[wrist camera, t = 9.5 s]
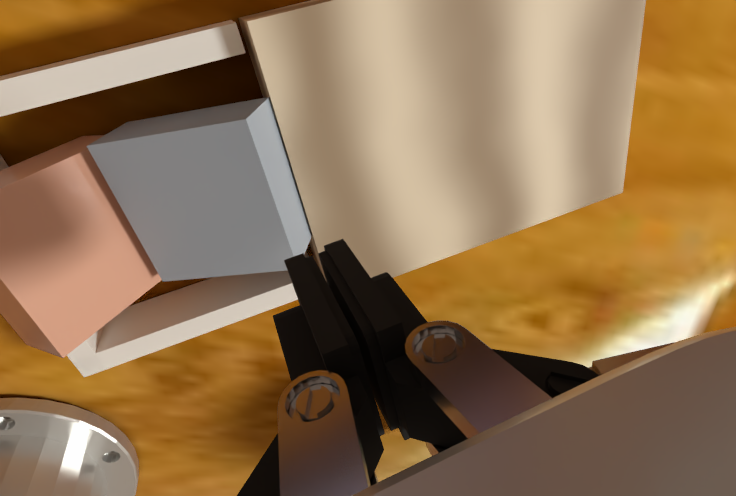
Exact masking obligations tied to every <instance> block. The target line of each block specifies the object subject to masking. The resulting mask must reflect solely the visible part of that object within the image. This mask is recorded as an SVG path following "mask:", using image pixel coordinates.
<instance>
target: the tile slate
mask: <svg viewBox="0 0 736 496" xmlns="http://www.w3.org/2000/svg"><path fill="white" fill-rule="evenodd" d="M87 148H88V150H89V151H90V153H91V155H92V157H93V158H94V160H95V162H96V164H97V166H98V167H99V169H100V171H101V173H102V174H103V176H104V178H105V180H106V182H107V183H108V185H109V187H110V189H111V190H112V192H113V194H114V196H115V198H116V199H117V201H118V203H119V205H120V206H121V208H122V210H123V212H124V214H125V215H126V217H127V219H128V221H129V222H130V224H131V226H132V228H133V230H134V231H135V233H136V235H137V237H138V238H139V240H140V242H141V244H142V246H143V247H144V249H145V251H146V253H147V254H148V256H149V258H150V260H151V262H152V263H153V265H154V267H155V269H156V270H157V272H158V274H159V276H160V278H161V279H162V281H163V282H165V281H176V280H187V279H198V278H209V277H220V276H231V275H242V274H253V273H264V272H275V271H286V270H287V268H286V265H285V262H284V260H286V259H288V258H291V257H294V256H297V255H299V254H302V253H303V254H305V252H306V249H307V247H308V244H309V242H310V239H311V237H312V233H311V229H310V226H309V223H308V220H307V216H306V213H305V210H304V207H303V203H302V200H301V197H300V194H299V191H298V187H297V184H296V181H295V178H294V174H293V171H292V168H291V165H290V162H289V158H288V155H287V152H286V149H285V145H284V142H283V139H282V136H281V133H280V129H279V126H278V123H277V120H276V117H275V113H274V110H273V107H272V104H271V100H270V97H266V98H260V99H254V100H249V101H243V102H237V103H232V104H226V105H221V106H215V107H209V108H204V109H198V110H192V111H187V112H181V113H176V114H170V115H164V116H159V117H153V118H147V119H142V120H136V121H130V122H126V123H125V124H123V125H121V126H120V127H118V128H116V129H114V130H113V131H111V132H109V133H108V134H106V135H104V136H103V137H101V138H99V139H98V140H96V141H94V142H93V143H91V144H89V145H87Z"/></svg>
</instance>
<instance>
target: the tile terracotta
mask: <svg viewBox="0 0 736 496" xmlns="http://www.w3.org/2000/svg"><path fill="white" fill-rule="evenodd" d="M103 136H104V135H92V136H81V137H79V138H76V139H74V140H72V141H69V142H67V143H65V144H62V145H60V146H58V147H55V148H53V149H50V150H48V151H46V152H43V153H41V154H39V155H36V156H34V157H31V158H29V159H27V160H24V161H22V162H20V163H17V164H15V165H12V166H10V167H8V168H5V169H3V170H1V171H0V313H1V315H2V316H3V317H4V318H5V319H6V321H7V322H8V323H9V324H10V325H11V327H12V328H13V329H14V330H15V331H16V333H17V334H18V335H19V336H20V337H21V339H22V340H23V341H24V342H25V343H26V345H29V346H32V347H34V348H37V349H40V350H43V351H45V352H48V353H51V354H53V355H56V356H59V357H62V358H64V357H65V356H66V355H68V354H69V353H70V352H71V351H73V350H74V349H75V348H76V347H78V346H79V345H80V344H82V343H83V342H84V341H85V340H87V339H88V338H89V337H90V336H92V335H93V334H94V333H95V332H97V331H98V330H99V329H100V328H102V327H103V326H104V325H105V324H107V323H108V322H109V321H111V320H112V319H113V318H114V317H116V316H117V315H118V314H119V313H121V312H122V311H123V310H124V309H126V308H127V307H128V306H129V305H131V304H132V303H133V302H134V301H136V300H137V299H138V298H140V297H141V296H142V295H143V294H145V293H146V292H147V291H148V290H150V289H151V288H152V287H153V286H155V285H156V284H157V283H158V282H160V281H161V280H162V279H161V278H160V276H159V274H158V272H157V270H156V269H155V267H154V265H153V263H152V262H151V260H150V258H149V256H148V254H147V253H146V251H145V249H144V247H143V246H142V244H141V242H140V240H139V238H138V237H137V235H136V233H135V231H134V230H133V228H132V226H131V224H130V222H129V221H128V219H127V217H126V215H125V214H124V212H123V210H122V208H121V206H120V205H119V203H118V201H117V199H116V198H115V196H114V194H113V192H112V190H111V189H110V187H109V185H108V183H107V182H106V180H105V178H104V176H103V174H102V173H101V171H100V169H99V167H98V166H97V164H96V162H95V160H94V158H93V157H92V155H91V153H90V151H89V150H88V148H87V145H89V144H91V143H93V142H94V141H96V140H98V139H99V138H101V137H103Z"/></svg>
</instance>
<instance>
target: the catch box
mask: <svg viewBox="0 0 736 496" xmlns="http://www.w3.org/2000/svg"><path fill="white" fill-rule="evenodd" d="M244 53H245V49H244V46H243V43H242V40H241V37H240V34H239V31H238V28H237V24H236V22H234V21H232V20H228V21H224V22H220V23H216V24H212V25H208V26H203V27H199V28H195V29H191V30H187V31H183V32H179V33H175V34H171V35H167V36H163V37H159V38H154V39H150V40H146V41H142V42H138V43H134V44H130V45H126V46H122V47H118V48H114V49H109V50H105V51H101V52H97V53H93V54H89V55H85V56H81V57H77V58H73V59H69V60H65V61H60V62H56V63H52V64H48V65H44V66H40V67H36V68H32V69H28V70H24V71H20V72H16V73H11V74H7V75H3V76H0V117H1V116H5V115H9V114H13V113H16V112H20V111H24V110H28V109H32V108H36V107H40V106H43V105H47V104H51V103H55V102H59V101H63V100H67V99H70V98H74V97H78V96H82V95H86V94H90V93H94V92H97V91H101V90H105V89H109V88H113V87H117V86H121V85H124V84H128V83H132V82H136V81H140V80H144V79H148V78H151V77H155V76H159V75H163V74H167V73H171V72H175V71H178V70H182V69H186V68H190V67H194V66H198V65H201V64H205V63H209V62H213V61H217V60H221V59H225V58H228V57H232V56H236V55H240V54H244ZM5 168H8V165H7V164H6V162H5V161H4V159H3V158H2V156H1V155H0V171H1V170H3V169H5ZM304 256H305V258H307V257H309V256H308V254H307V251H306V252H305V254H304ZM295 300H298V298H297V295H296V292H295V290H294V287H293V284H292V281H291V279H290V276H289V273H288V270H286V271H275V272H264V273H253V274H242V275H231V276H220V277H213V278H210V279H207V280H204V281H201V282H198V283H195V284H192V285H189V286H186V287H184V288H181V289H178V290H175V291H172V292H169V293H166V294H163V295H160V296H157V297H154V298H152V299H149V300H146V301H143V302H140V303H137V304H134V305H131V306H128V307H127V308H126V309H124V310H123V311H122V312H121V313H119V314H118V315H117V316H116V317H114V318H113V319H112V320H111V321H109V322H108V323H107V324H105V325H104V326H103V327H102V328H100V329H99V330H98V331H97V332H95V333H94V334H93V335H92V336H90V337H89V338H88V339H87V340H85V341H84V342H83V343H82V344H80V345H79V346H78V347H76V348H75V349H74V350H73V351H71V352H70V353H69V354H68V355H67V356H68V357H69V359H70V360H71V361H72V363H73V364H74V365H75V366H76V368H77V369H78V370H79V371H80V373H81V374H82V375H83V377H87V376H89V375H92V374H95V373H98V372H100V371H103V370H106V369H109V368H111V367H114V366H117V365H120V364H122V363H125V362H128V361H131V360H133V359H136V358H139V357H141V356H144V355H147V354H150V353H152V352H155V351H158V350H161V349H163V348H166V347H169V346H172V345H174V344H177V343H180V342H183V341H185V340H188V339H191V338H194V337H196V336H199V335H202V334H204V333H207V332H210V331H213V330H215V329H218V328H221V327H224V326H226V325H229V324H232V323H235V322H237V321H240V320H243V319H246V318H248V317H251V316H254V315H257V314H259V313H262V312H265V311H267V310H270V309H273V308H276V307H278V306H281V305H284V304H287V303H289V302H292V301H295Z"/></svg>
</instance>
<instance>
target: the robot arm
mask: <svg viewBox="0 0 736 496" xmlns="http://www.w3.org/2000/svg"><path fill="white" fill-rule="evenodd" d="M324 250H325V251H323V252H320V253H318V255H319V258H320V262H321V265H322V268H323V271H324V274H325V278H326V280H325V278H324V276H323V274H322V272H321V270H320V268H319V266H318V265H317V263H316V261H315V259H314V257H313V255H312V256H309V257H307V258H305V256H304V254H303V253H302V254H299V255H297V256H294V257H291V258H288V259H286V260H284V262H285V265H286V268H287V270H288V273H289V276H290V279H291V281H292V284H293V287H294V290H295V292H296V295H297V298H298V301H299V303H300V305H299V306H297V307H294V308H292V309H289V310H286V311H284V312H281V313H279V314H276V315H273V318H274V322H275V326H276V329H277V333H278V336H279V340H280V343H281V346H282V350H283V353H284V357H285V360H286V364H287V367H288V371H289V374H290V378H291V381H292V382H290V384H289V385H288V386H287V387H286V388H285V389H284V390H283V392H282V394H281V396H280V398H279V401H278V408H277V413H278V434H277V435H276V437H275V438H274V440H273V441H272V443H271V445H270V446H269V448H268V449H267V451H266V452H265V454H264V455H263V457H262V458H261V460H260V461H259V463H258V464H257V466H256V467H255V469H254V470H253V472H252V473H251V475H250V477H249V478H248V480H247V481H246V483H245V484H244V486H243V487H242V489H241V490H240V492H239V493H238V495H237V496H736V327H732V328H727V329H722V330H717V331H713V332H708V333H704V334H700V335H697V336H694V337H691V338H688V339H685V340H682V341H678V342H675V343H670V344H666V345H661V346H657V347H652V348H648V349H644V350H639V351H635V352H631V353H626V354H622V355H618V356H613V357H609V358H604V359H600V360H596V361H593V362H592V367H589V368H587V367H585V366H583V365H580V364H577V363H573V362H568V361H562V360H556V359H550V358H544V357H538V356H532V355H525V354H519V353H513V352H507V351H501V350H495V349H491V348H489V347H488V346H487V345H486V344H484V343H483V342H482V341H481V340H479V339H478V338H477V337H476V336H474V335H473V334H472V333H471V332H469V331H468V330H467V329H466V328H464V327H462V326H461V325H459V324H457V323H454V322H450V321H433V322H427V321H426V320H425V319H424V317H423V316H422V315H421V314H420V312H419V311H418V310H417V308H416V307H415V306H414V305H413V303H412V302H411V301H410V300H409V298H408V297H407V296H406V295H405V293H404V292H403V291H402V289H401V288H400V287H399V286H398V284H397V283H396V282H395V281H394V279H393V278H392V277H391V276H390V274H389V273H387V272H385V273H382V274H380V275H377V276H374V277H372V278H371V277H370V276H369V275H368V273H367V272H366V270H365V269H364V268H363V266H362V265H361V263H360V262H359V260H358V259H357V258H356V256H355V255H354V253H353V252H352V251H351V249H350V248H349V246H348V245H347V243H346V242H345V241H344V239H341V240H338V241H335V242H332V243H330V244H327V245H324ZM326 281H327V282H326ZM375 400H376V402H377V404H378V406H379V408H380V410H381V412H382V414H383V416H384V418H385V420H386V422H387V424H388V426H389V428H390V430H391V431H392V430H394V429H396V428H399V430H400V432H401V434H402V436H403V438H404V440H407V439H409V438H413V439H417V440H421V441H424V442H425V443H426V446H427V448H428V450H429V452H430V454H431V455H432V457H430V458H428V459H426V460H424V461H421V462H419V463H417V464H415V465H413V466H411V467H409V468H407V469H405V470H403V471H401V472H399V473H397V474H395V475H393V476H391V477H389V478H387V479H385V480H382V481H380V482H378V479H377V476H376V473H375V469H376V467H377V464H378V462H379V460H380V457H381V455H382V453H383V451H384V448H383V445H382V442H381V439H380V436H381V435H383V434H384V429H383V426H382V422H381V419H380V415H379V412H378V409H377V405H376V402H375ZM138 477H139V460H138V457H137V454H136V451H135V448H134V447H133V445H132V444H131V442H130V441H129V439H128V438H127V436H126V435H125V434H124V433H123V432H122V431H120V430H119V429H118V428H117V427H116V426H115V425H113V424H112V423H111V422H109V421H107V420H105V419H104V418H102V417H100V416H98V415H97V414H95V413H92V412H90V411H87V410H84V409H81V408H79V407H76V406H73V405H69V404H64V403H59V402H55V401H50V400H43V399H30V398H0V496H135V494H136V489H137V483H138Z"/></svg>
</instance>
